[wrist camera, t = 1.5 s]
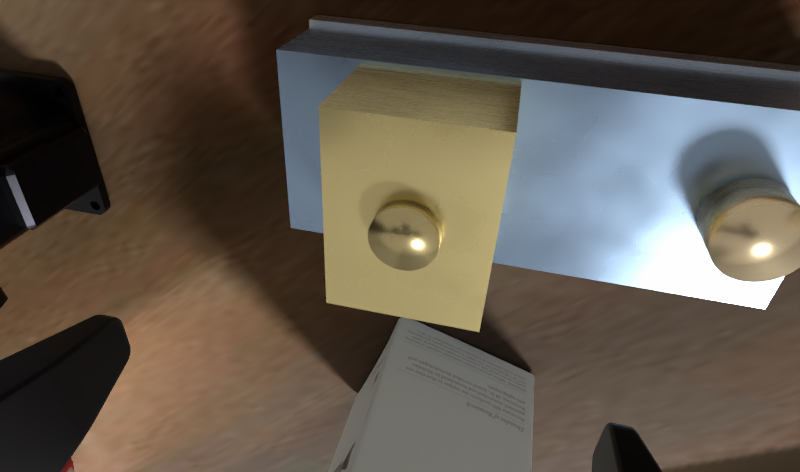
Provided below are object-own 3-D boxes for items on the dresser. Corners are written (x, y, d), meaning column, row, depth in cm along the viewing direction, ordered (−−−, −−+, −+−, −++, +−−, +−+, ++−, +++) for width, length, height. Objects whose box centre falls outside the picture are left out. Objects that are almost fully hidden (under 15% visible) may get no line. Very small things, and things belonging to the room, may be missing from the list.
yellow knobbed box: (359, 237, 18) (320, 313, 15) (361, 63, 15) (310, 114, 12) (489, 259, 18) (477, 344, 14) (521, 82, 14) (515, 141, 11)
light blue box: (323, 179, 22) (268, 254, 18) (317, 14, 18) (245, 57, 14) (732, 242, 20) (787, 348, 15) (820, 67, 16) (925, 139, 12)
